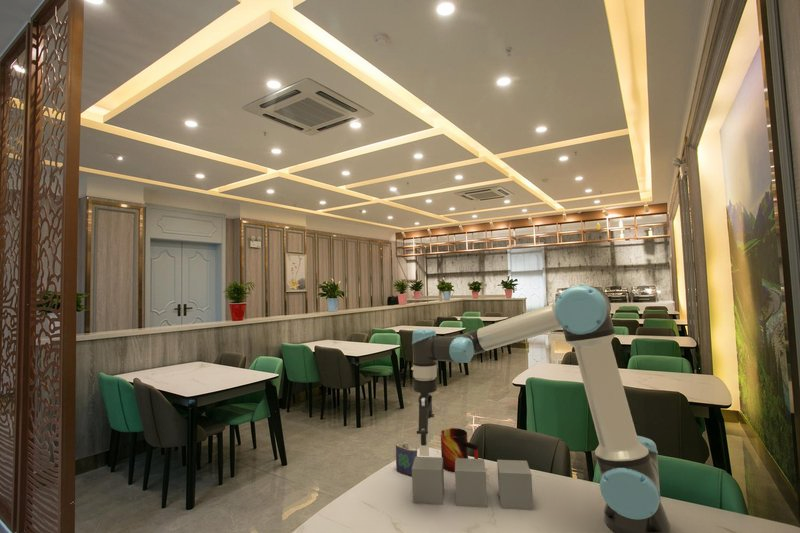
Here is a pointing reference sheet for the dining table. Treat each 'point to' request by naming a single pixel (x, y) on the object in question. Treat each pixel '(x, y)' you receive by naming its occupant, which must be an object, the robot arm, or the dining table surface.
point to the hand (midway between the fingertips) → (426, 446)
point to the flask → (405, 458)
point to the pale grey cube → (515, 484)
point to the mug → (455, 447)
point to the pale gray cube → (470, 482)
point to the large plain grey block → (428, 480)
